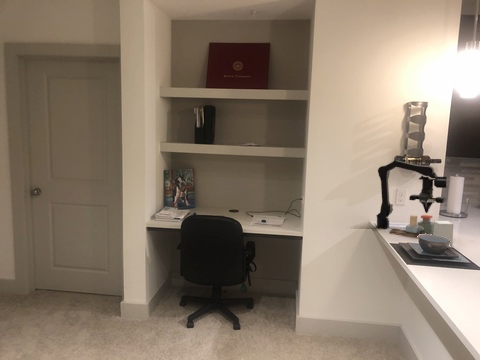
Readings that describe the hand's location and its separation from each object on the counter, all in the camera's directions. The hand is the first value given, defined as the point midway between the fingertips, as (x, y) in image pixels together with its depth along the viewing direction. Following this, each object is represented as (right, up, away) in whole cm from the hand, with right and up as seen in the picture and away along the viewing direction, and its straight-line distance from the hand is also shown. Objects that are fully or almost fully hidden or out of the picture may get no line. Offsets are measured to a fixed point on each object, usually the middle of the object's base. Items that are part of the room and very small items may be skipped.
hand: (426, 212), depth 221 cm
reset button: (0, -8, +1) cm, 8 cm away
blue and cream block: (-10, -10, -5) cm, 15 cm away
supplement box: (-4, -15, -24) cm, 29 cm away
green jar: (+1, -12, +2) cm, 12 cm away
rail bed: (-13, -13, -2) cm, 18 cm away
